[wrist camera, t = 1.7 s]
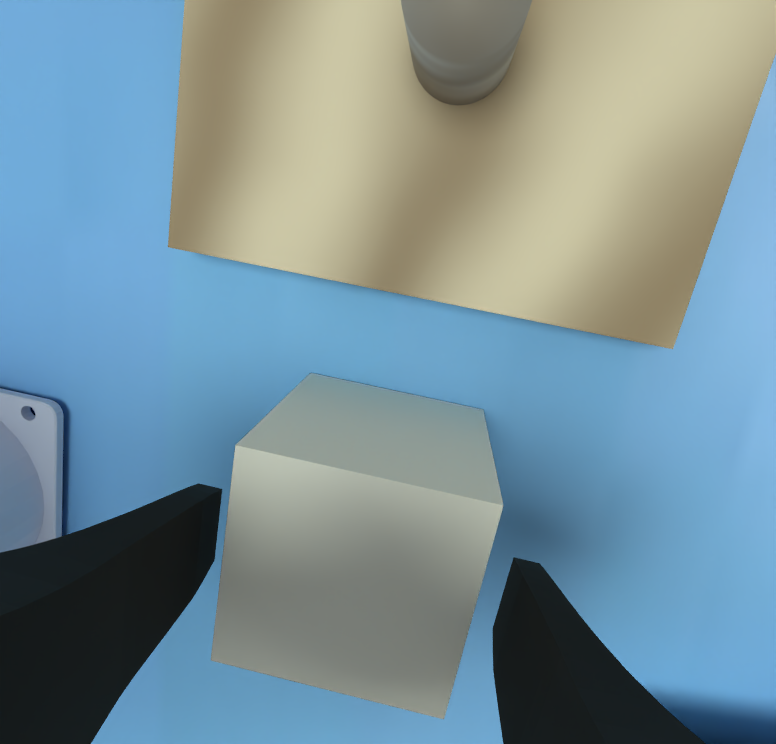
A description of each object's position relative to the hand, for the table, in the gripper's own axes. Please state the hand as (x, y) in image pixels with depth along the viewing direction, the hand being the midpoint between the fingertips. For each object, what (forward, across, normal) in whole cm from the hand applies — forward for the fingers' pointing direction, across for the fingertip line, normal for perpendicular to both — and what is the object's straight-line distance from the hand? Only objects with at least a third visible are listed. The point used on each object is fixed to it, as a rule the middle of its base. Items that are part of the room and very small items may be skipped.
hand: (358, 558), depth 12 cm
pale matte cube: (+5, 0, 0) cm, 5 cm away
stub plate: (+5, 0, -12) cm, 13 cm away
